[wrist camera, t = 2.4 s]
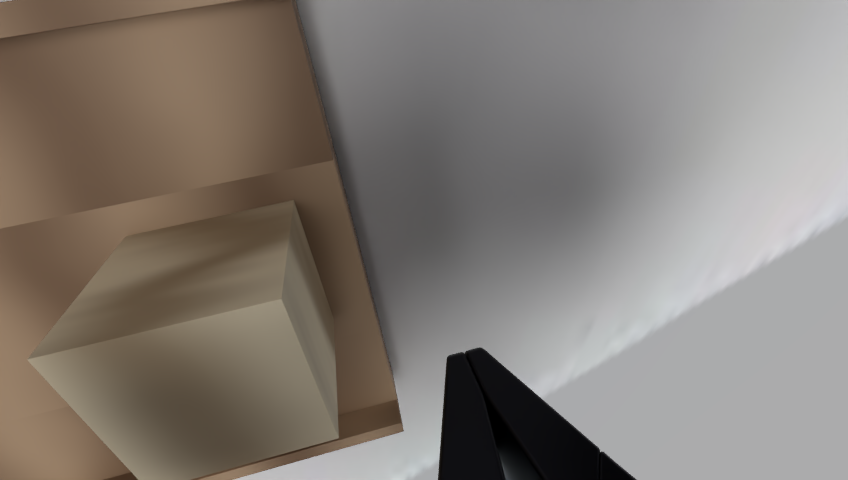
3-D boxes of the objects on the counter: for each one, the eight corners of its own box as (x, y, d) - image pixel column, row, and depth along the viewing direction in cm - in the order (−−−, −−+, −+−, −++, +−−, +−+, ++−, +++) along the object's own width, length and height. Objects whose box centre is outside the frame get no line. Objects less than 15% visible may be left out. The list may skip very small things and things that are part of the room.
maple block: (293, 199, 13) (281, 299, 9) (333, 318, 16) (338, 438, 11) (126, 235, 12) (26, 359, 8) (196, 352, 15) (148, 491, 11)
